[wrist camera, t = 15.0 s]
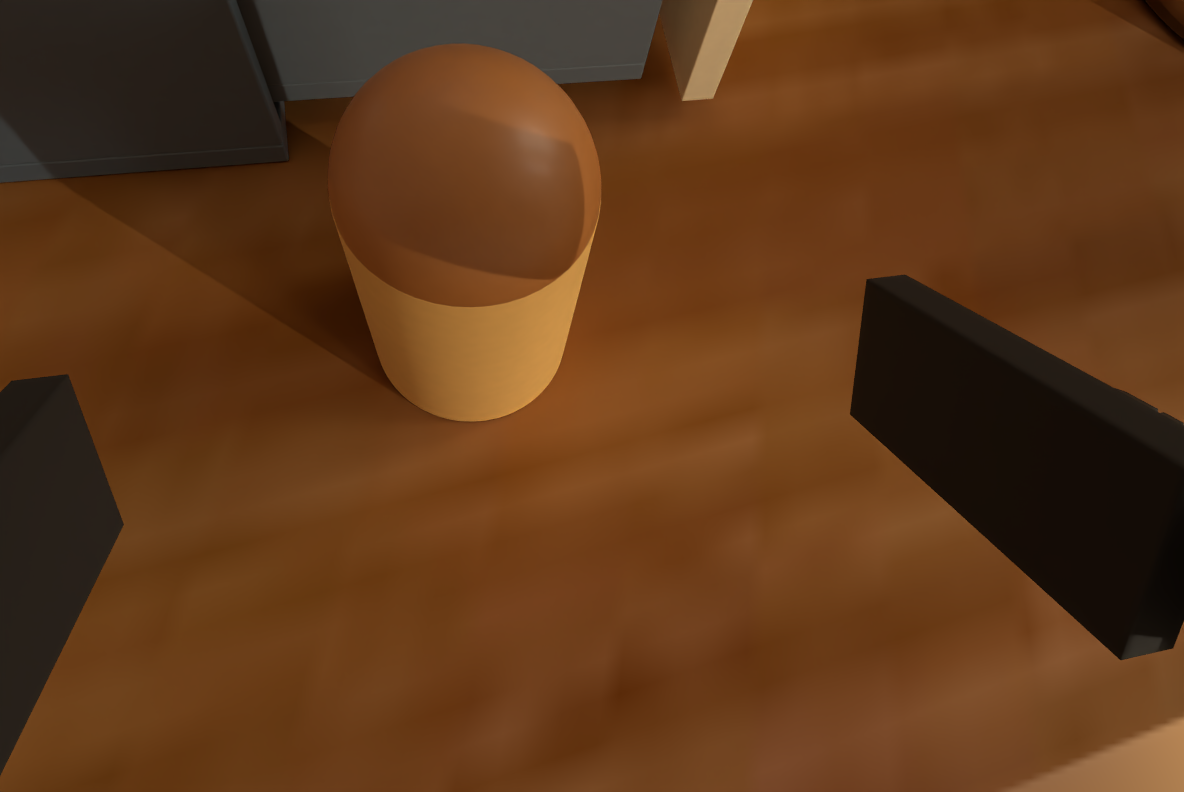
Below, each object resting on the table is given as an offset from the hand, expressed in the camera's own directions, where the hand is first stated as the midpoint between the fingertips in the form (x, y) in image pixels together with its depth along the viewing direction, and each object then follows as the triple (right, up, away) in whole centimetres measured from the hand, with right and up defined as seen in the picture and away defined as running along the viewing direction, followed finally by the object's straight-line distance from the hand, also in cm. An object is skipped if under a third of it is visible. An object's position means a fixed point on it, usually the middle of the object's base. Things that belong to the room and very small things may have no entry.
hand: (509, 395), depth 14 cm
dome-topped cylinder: (-2, +2, +12) cm, 13 cm away
